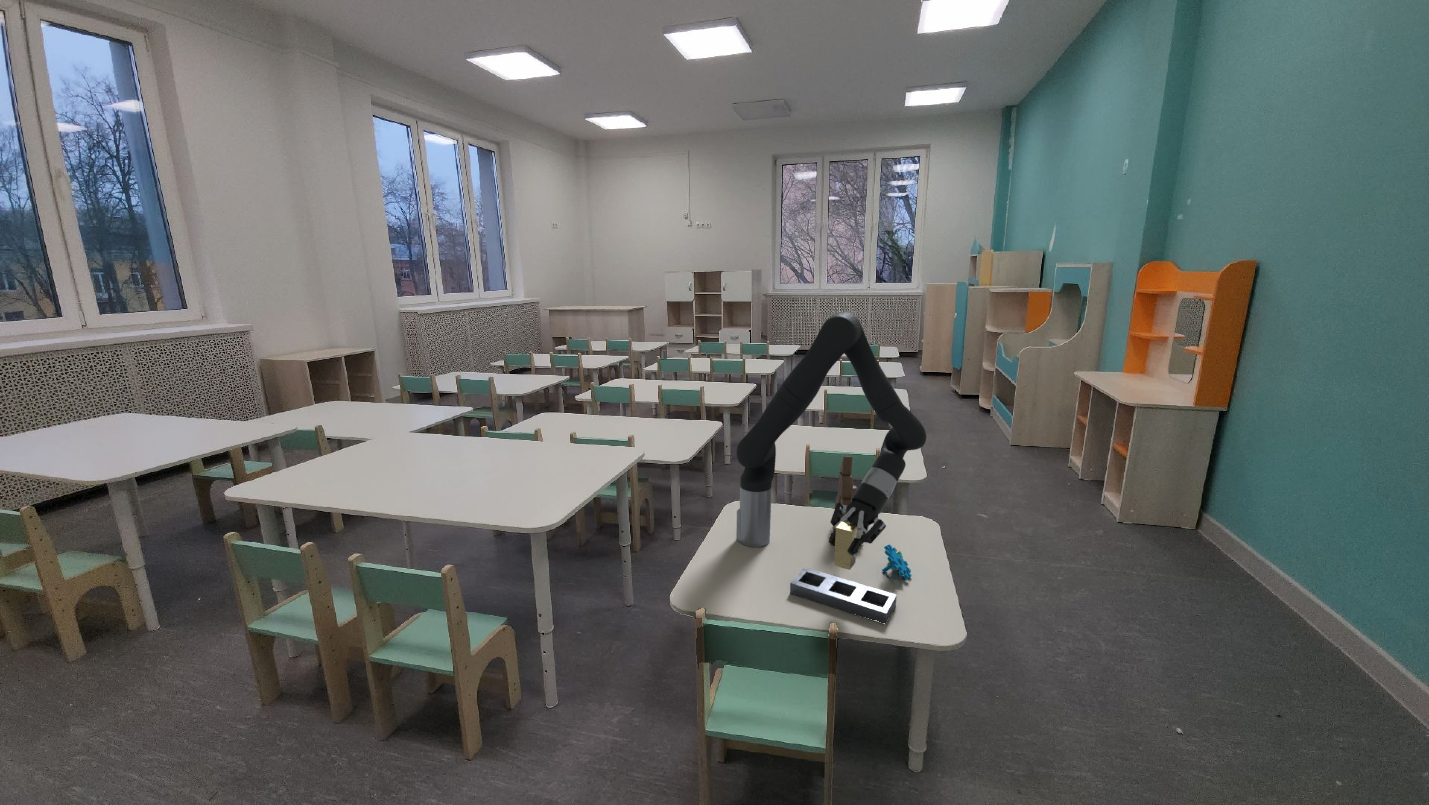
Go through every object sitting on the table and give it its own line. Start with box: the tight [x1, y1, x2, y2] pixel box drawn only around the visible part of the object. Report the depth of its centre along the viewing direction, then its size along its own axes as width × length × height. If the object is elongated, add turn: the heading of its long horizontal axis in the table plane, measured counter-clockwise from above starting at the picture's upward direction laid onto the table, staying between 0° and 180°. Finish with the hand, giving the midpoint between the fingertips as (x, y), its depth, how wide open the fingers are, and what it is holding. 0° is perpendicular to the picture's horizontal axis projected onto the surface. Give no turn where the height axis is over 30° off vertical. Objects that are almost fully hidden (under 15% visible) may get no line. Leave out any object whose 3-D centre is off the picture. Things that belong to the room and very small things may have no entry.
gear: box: [881, 544, 913, 580], centre depth 155 cm, size 11×6×10 cm
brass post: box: [833, 521, 857, 571], centre depth 139 cm, size 4×4×10 cm
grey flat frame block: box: [789, 566, 898, 624], centre depth 142 cm, size 24×9×3 cm, turn 58°
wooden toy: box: [834, 455, 864, 545], centre depth 175 cm, size 15×7×25 cm, turn 178°
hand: (840, 548), depth 138 cm, fingers closed on brass post, 5 cm apart
